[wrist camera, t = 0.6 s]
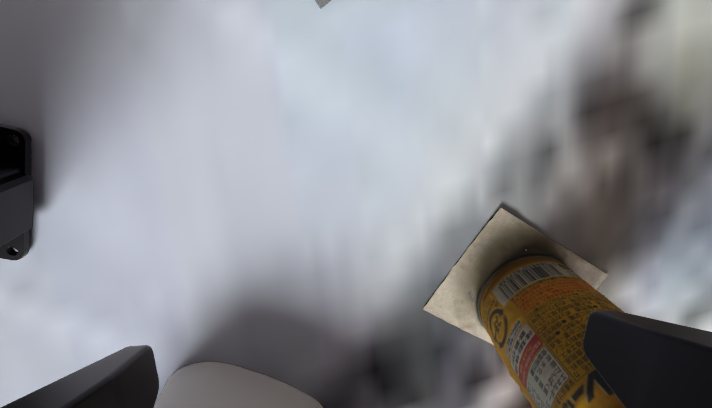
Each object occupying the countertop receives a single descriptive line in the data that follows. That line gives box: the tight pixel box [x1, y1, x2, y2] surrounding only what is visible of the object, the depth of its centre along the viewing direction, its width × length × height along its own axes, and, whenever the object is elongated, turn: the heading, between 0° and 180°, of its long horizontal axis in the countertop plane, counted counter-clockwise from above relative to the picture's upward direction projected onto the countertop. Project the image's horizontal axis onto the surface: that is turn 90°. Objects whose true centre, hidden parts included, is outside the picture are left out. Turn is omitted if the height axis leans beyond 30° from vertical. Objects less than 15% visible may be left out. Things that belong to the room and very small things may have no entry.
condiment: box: [423, 208, 625, 408], centre depth 18 cm, size 7×8×12 cm
